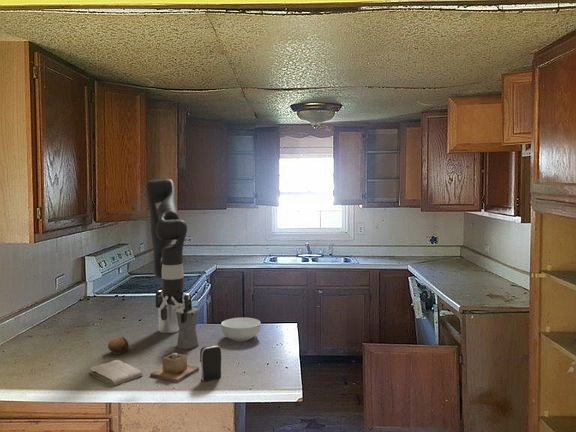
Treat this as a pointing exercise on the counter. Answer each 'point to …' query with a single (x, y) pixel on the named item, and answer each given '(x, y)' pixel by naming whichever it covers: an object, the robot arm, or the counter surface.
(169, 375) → the post base
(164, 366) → the collar
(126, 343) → the brown round lump
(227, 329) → the cereal bowl
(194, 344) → the coffeepot
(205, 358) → the battery charger
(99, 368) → the washcloth
